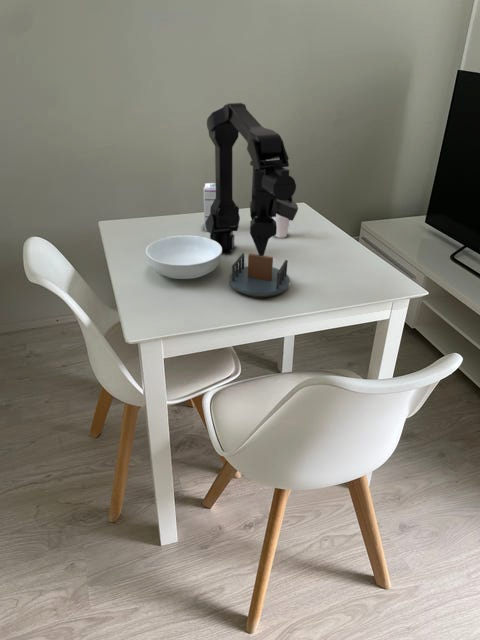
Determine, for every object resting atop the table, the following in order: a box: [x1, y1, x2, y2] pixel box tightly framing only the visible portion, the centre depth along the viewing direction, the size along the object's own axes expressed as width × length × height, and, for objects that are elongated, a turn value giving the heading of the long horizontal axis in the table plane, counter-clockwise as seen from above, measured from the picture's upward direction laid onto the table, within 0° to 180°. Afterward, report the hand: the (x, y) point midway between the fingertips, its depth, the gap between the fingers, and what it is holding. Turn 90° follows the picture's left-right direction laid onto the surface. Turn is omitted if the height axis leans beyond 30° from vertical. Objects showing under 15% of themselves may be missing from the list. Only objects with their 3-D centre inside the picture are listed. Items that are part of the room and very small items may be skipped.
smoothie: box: [273, 214, 291, 239], centre depth 166 cm, size 6×6×14 cm
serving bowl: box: [145, 234, 223, 280], centre depth 144 cm, size 21×21×7 cm
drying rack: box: [229, 252, 291, 296], centre depth 137 cm, size 17×16×7 cm
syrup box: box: [202, 182, 216, 232], centre depth 171 cm, size 6×6×14 cm
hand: (261, 248), depth 133 cm, fingers open, 9 cm apart
